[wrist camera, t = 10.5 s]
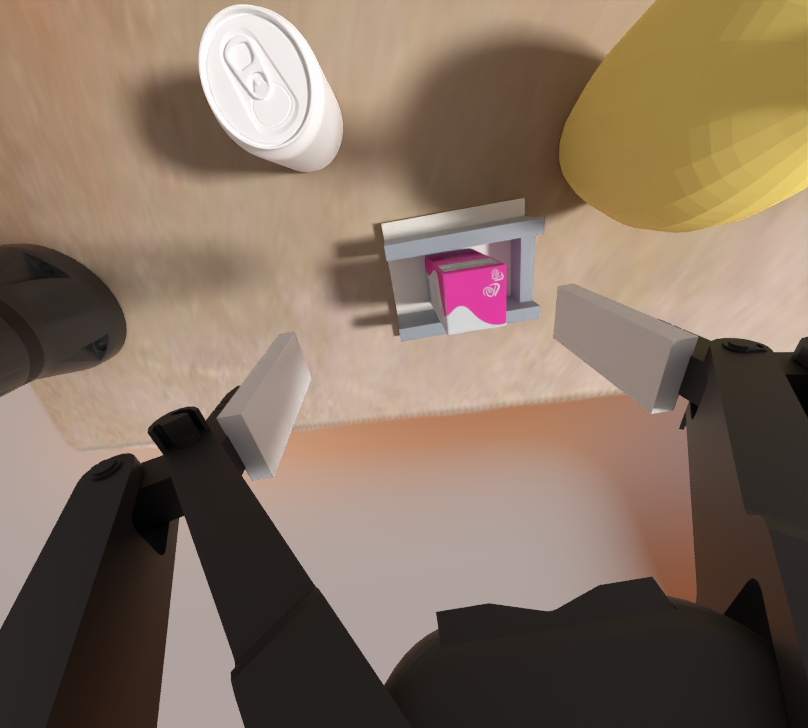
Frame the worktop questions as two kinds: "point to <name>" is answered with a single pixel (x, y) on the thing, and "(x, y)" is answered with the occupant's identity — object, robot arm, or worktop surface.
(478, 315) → the supplement box
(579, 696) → the robot arm
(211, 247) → the worktop surface
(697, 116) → the vase
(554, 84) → the worktop surface
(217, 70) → the beverage can
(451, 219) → the slot cradle
